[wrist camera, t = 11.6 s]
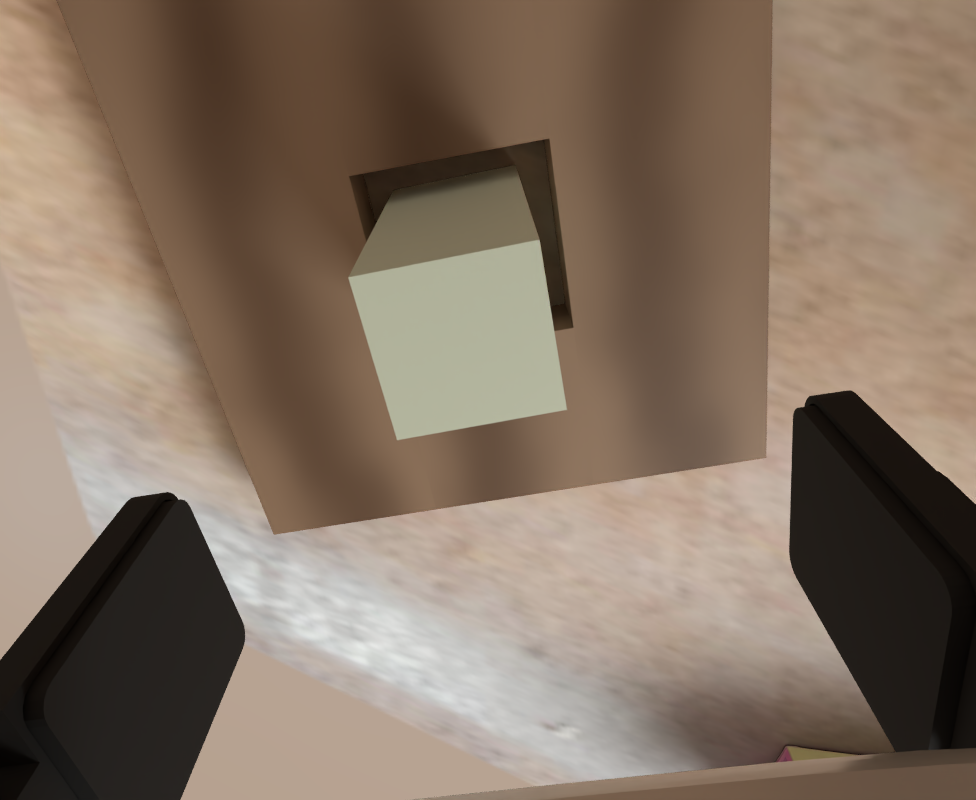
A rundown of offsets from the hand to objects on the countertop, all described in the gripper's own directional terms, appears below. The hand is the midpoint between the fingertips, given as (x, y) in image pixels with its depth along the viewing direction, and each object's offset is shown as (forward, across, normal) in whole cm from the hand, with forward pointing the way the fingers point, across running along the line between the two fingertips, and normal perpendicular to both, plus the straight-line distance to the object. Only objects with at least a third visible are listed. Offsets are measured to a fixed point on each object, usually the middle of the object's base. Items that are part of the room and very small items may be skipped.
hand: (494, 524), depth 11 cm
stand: (+17, +1, 0) cm, 17 cm away
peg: (+17, +1, 0) cm, 17 cm away
